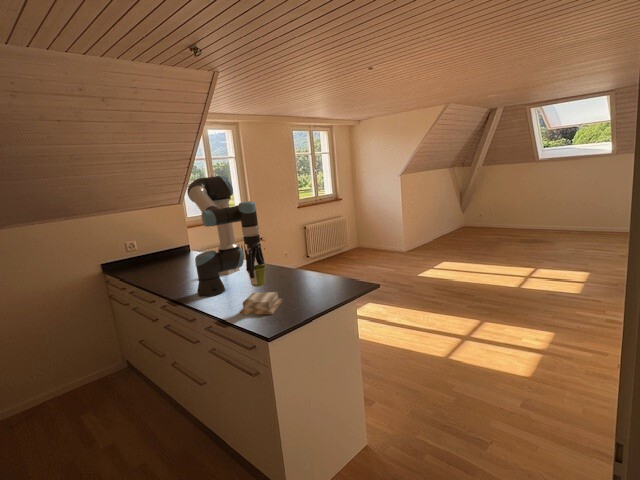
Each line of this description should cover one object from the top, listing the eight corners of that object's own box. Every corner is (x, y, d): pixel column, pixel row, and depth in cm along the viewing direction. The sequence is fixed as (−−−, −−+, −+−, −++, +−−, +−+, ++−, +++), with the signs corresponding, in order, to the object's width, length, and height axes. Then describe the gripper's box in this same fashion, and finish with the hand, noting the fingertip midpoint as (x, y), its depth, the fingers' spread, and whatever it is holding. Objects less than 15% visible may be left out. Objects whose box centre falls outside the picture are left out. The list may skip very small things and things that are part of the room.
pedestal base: (240, 314, 170) (238, 303, 169) (252, 302, 186) (251, 291, 185) (272, 314, 167) (270, 303, 166) (282, 301, 182) (281, 290, 181)
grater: (239, 270, 250) (235, 242, 246) (228, 274, 242) (223, 245, 238) (229, 269, 256) (224, 241, 252) (217, 273, 247) (213, 245, 243)
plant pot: (249, 283, 178) (247, 266, 177) (269, 280, 179) (266, 263, 177) (247, 289, 169) (244, 271, 167) (267, 286, 170) (265, 268, 168)
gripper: (249, 239, 158) (257, 288, 162) (266, 229, 179) (272, 273, 183) (233, 240, 160) (241, 288, 164) (252, 231, 181) (258, 274, 185)
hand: (258, 280), depth 174 cm, fingers closed on plant pot, 9 cm apart
